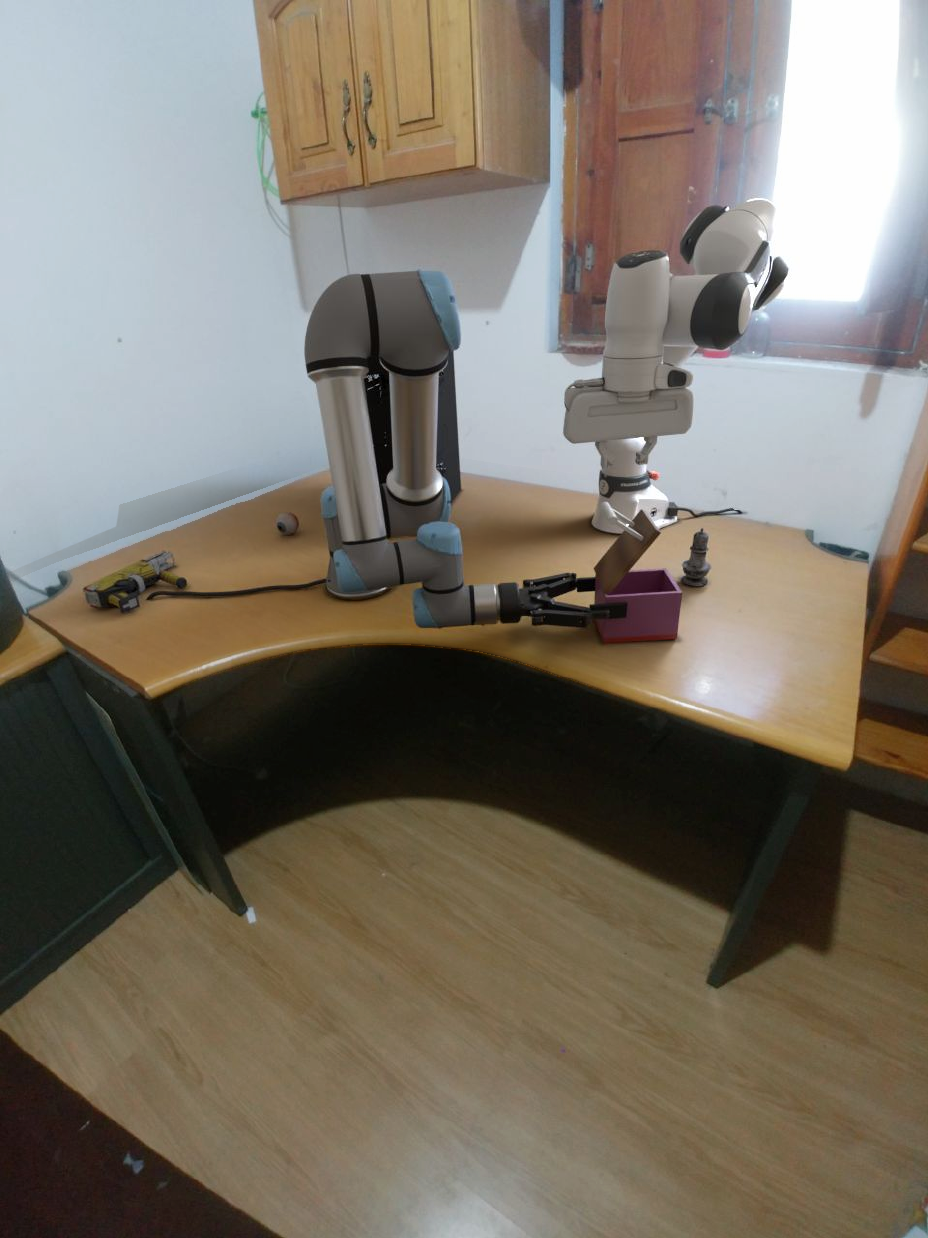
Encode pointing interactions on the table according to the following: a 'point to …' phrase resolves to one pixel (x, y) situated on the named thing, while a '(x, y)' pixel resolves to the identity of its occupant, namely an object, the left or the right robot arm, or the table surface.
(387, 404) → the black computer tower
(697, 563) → the pewter chess piece
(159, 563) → the toy gun
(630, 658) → the table surface
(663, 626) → the chest
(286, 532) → the eyeball
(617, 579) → the lid
